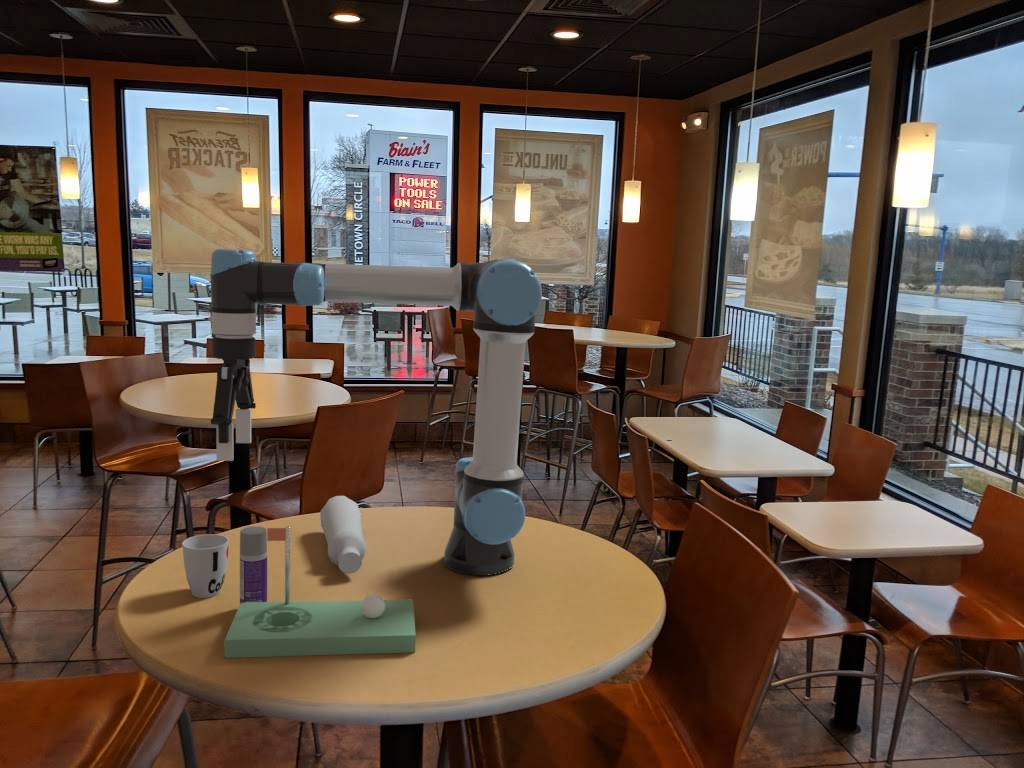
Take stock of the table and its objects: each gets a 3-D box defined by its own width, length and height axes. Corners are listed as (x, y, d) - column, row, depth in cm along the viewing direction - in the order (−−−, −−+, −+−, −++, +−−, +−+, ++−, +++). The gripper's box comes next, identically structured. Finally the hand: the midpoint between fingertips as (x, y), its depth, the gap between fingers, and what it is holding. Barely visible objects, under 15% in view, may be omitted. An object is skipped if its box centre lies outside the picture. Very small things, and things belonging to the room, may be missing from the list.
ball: (385, 611, 138) (385, 590, 137) (384, 622, 134) (385, 599, 133) (361, 612, 137) (362, 590, 136) (360, 622, 133) (361, 600, 133)
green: (412, 614, 144) (413, 599, 143) (415, 652, 130) (415, 635, 130) (240, 618, 139) (240, 602, 139) (224, 657, 125) (224, 640, 125)
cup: (213, 603, 144) (213, 551, 143) (173, 597, 146) (172, 546, 145) (237, 586, 152) (237, 536, 151) (199, 581, 154) (198, 532, 152)
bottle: (311, 518, 184) (317, 570, 156) (334, 486, 184) (344, 533, 156) (344, 536, 187) (355, 592, 159) (366, 505, 187) (382, 555, 159)
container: (272, 607, 144) (272, 528, 142) (256, 617, 140) (256, 536, 137) (250, 602, 146) (250, 524, 143) (234, 612, 141) (233, 532, 139)
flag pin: (289, 602, 140) (290, 526, 137) (289, 604, 139) (289, 527, 137) (267, 602, 139) (267, 526, 137) (266, 604, 138) (267, 528, 136)
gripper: (230, 329, 154) (231, 435, 157) (191, 342, 129) (193, 468, 133) (269, 330, 155) (269, 436, 158) (238, 343, 130) (239, 469, 133)
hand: (234, 451), depth 145 cm, fingers open, 13 cm apart
